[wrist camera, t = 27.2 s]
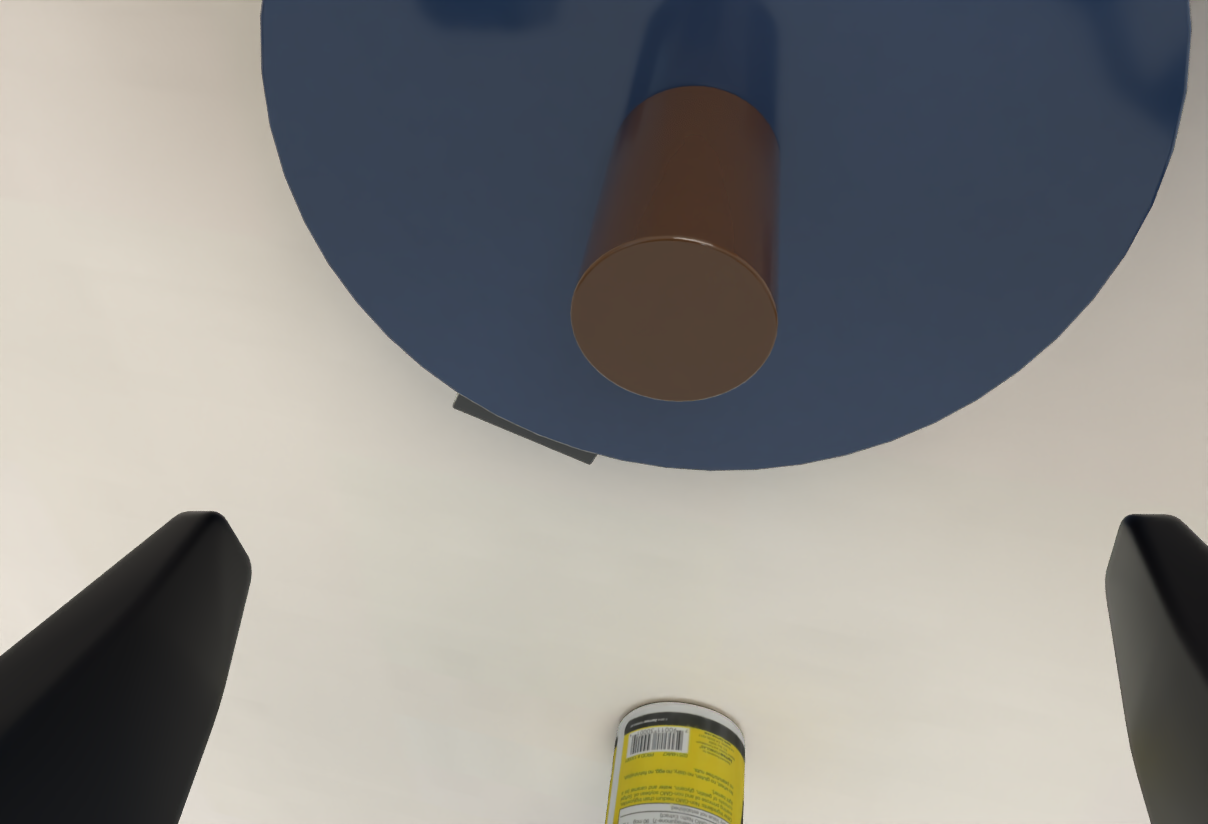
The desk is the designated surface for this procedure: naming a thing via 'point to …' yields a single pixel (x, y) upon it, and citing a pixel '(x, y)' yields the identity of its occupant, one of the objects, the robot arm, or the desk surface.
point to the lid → (724, 201)
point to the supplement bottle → (677, 767)
